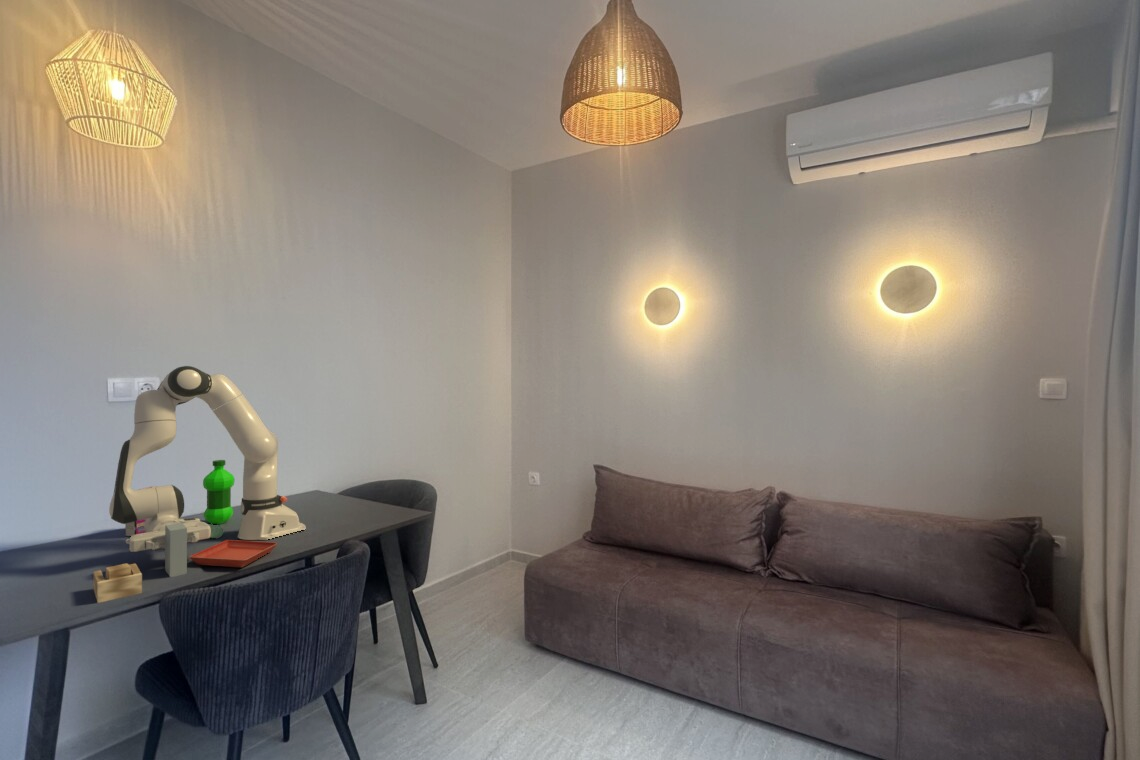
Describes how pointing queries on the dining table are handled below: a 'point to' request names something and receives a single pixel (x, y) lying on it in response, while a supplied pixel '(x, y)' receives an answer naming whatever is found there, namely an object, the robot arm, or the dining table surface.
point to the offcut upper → (118, 571)
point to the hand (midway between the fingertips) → (175, 543)
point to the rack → (117, 585)
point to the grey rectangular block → (175, 549)
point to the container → (216, 531)
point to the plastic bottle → (218, 494)
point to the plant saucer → (233, 553)
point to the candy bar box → (136, 524)
